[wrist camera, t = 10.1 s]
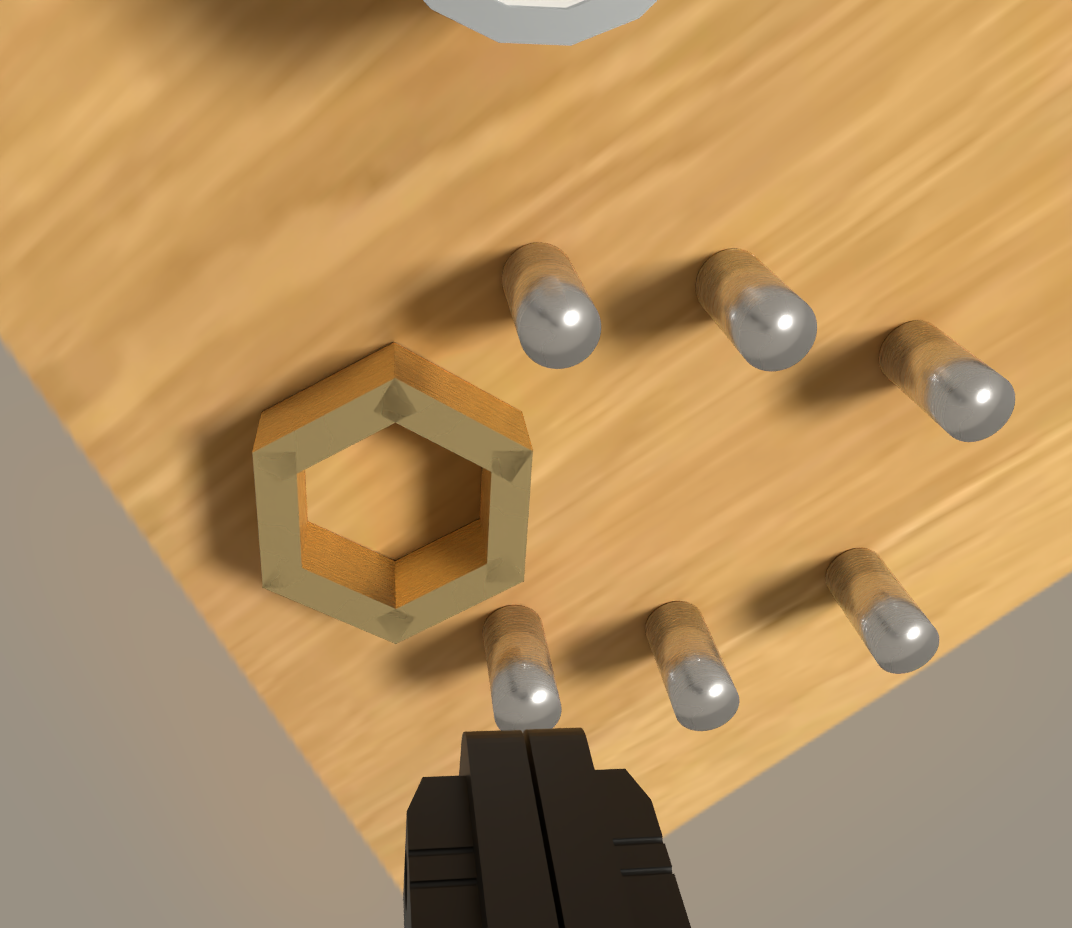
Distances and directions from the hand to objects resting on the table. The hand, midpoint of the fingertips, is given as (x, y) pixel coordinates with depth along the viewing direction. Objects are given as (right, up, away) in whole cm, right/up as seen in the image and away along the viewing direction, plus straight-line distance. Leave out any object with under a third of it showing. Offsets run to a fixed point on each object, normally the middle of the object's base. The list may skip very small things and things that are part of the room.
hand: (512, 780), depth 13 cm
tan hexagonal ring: (-4, +4, +17) cm, 18 cm away
